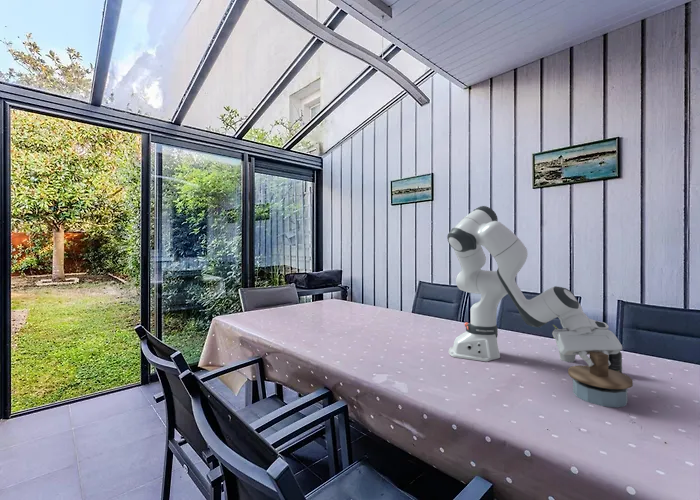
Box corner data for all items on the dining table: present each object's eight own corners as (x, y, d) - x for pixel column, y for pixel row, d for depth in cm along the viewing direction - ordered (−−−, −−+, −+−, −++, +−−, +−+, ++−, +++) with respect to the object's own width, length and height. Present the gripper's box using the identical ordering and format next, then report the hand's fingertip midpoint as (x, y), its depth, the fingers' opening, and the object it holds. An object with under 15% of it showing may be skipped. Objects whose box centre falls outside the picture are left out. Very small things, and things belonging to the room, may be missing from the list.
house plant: (597, 368, 135) (596, 328, 135) (559, 366, 138) (559, 326, 138) (580, 356, 149) (580, 320, 149) (546, 355, 152) (546, 319, 152)
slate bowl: (583, 404, 105) (583, 389, 105) (567, 386, 119) (567, 373, 119) (636, 409, 101) (636, 394, 101) (613, 390, 115) (613, 377, 115)
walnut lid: (593, 389, 101) (593, 363, 101) (556, 369, 118) (556, 346, 118) (647, 388, 101) (647, 361, 101) (603, 368, 118) (603, 345, 118)
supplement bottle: (595, 370, 133) (595, 340, 133) (611, 370, 133) (611, 340, 133) (610, 377, 126) (610, 345, 126) (626, 376, 126) (626, 345, 126)
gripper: (554, 324, 116) (573, 361, 107) (611, 323, 117) (636, 360, 107) (546, 333, 121) (564, 370, 111) (601, 332, 121) (624, 369, 112)
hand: (600, 365), depth 109 cm, fingers closed on walnut lid, 3 cm apart
